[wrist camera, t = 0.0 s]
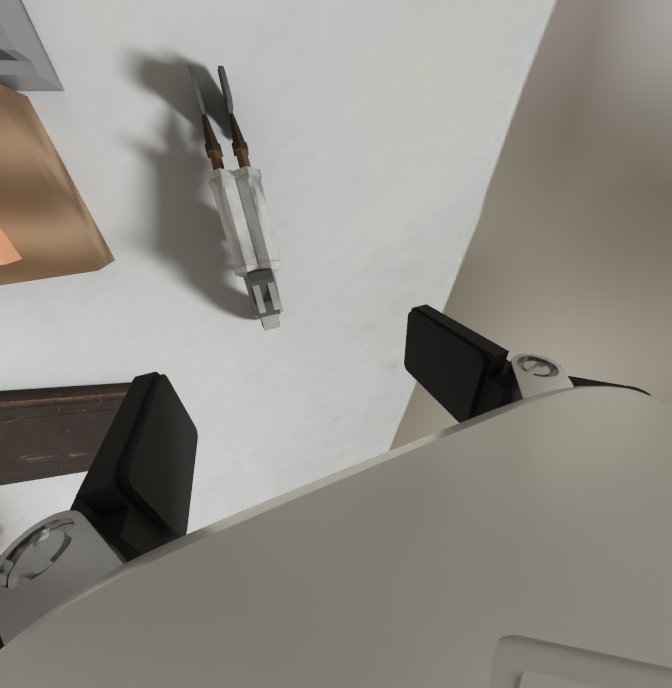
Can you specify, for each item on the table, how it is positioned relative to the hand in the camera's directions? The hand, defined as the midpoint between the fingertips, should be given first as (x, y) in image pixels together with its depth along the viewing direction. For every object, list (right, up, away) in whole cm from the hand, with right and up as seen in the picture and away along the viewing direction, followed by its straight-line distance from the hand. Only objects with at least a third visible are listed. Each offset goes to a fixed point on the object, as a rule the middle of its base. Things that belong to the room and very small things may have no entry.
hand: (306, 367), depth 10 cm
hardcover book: (-39, -12, +30) cm, 51 cm away
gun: (-11, +17, +24) cm, 32 cm away
